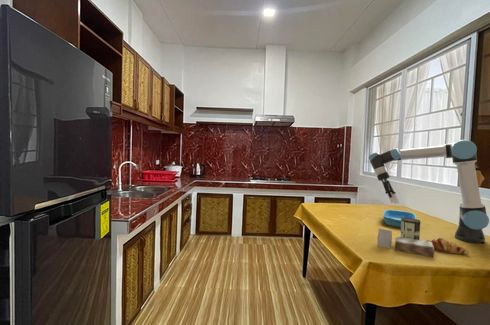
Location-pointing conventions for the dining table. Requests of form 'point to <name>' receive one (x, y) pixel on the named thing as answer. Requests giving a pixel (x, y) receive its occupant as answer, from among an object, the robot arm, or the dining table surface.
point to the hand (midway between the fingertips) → (395, 202)
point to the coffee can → (410, 228)
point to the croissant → (448, 246)
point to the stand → (414, 246)
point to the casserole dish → (396, 217)
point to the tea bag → (384, 238)
